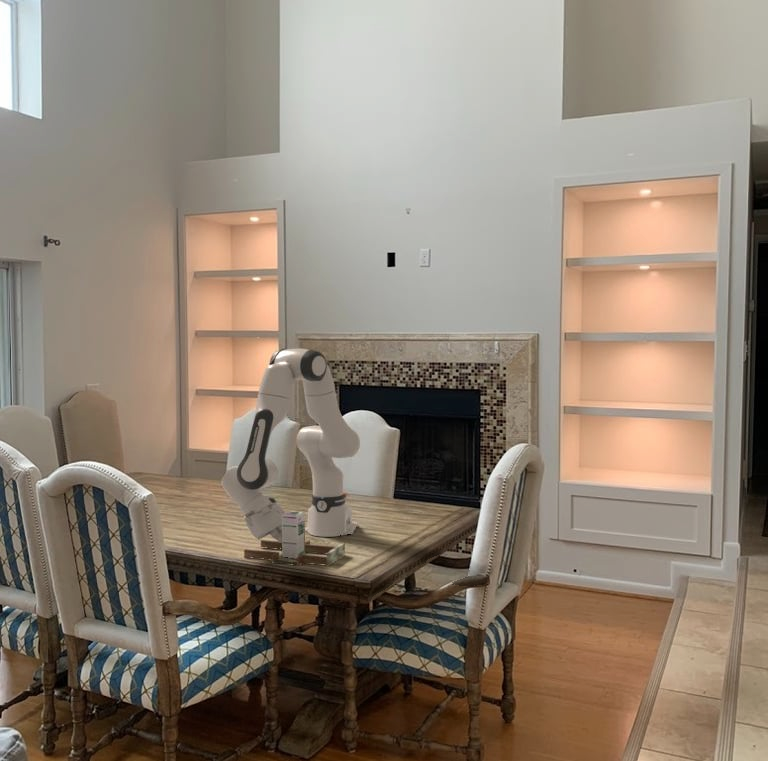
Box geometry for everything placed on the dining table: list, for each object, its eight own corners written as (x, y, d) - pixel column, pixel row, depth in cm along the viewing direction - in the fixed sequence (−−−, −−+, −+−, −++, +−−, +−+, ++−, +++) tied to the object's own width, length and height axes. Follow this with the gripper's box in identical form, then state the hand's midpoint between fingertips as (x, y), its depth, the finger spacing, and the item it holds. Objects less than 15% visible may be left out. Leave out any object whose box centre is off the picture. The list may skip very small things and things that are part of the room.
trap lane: (268, 543, 281) (267, 532, 280) (349, 551, 271) (349, 539, 271) (239, 559, 261) (239, 547, 261) (326, 568, 252) (326, 556, 252)
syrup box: (298, 559, 262) (298, 515, 261) (281, 557, 264) (281, 513, 263) (305, 554, 267) (305, 511, 266) (288, 552, 269) (289, 509, 268)
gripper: (248, 509, 258) (276, 542, 256) (276, 497, 277) (302, 527, 275) (236, 522, 260) (263, 555, 257) (265, 508, 279) (290, 539, 277)
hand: (283, 540), depth 266 cm, fingers closed, pressing on syrup box
